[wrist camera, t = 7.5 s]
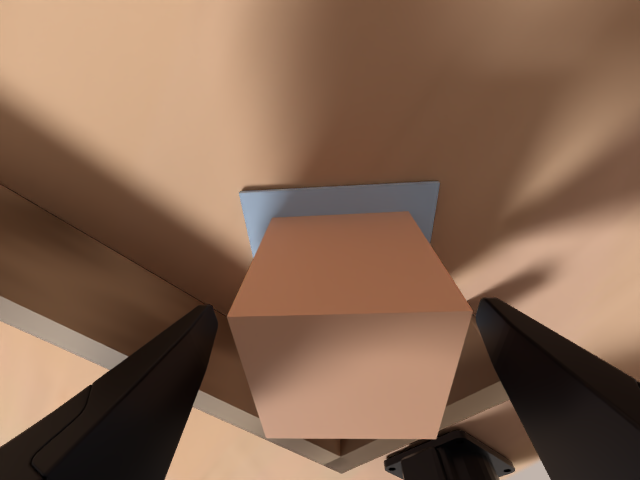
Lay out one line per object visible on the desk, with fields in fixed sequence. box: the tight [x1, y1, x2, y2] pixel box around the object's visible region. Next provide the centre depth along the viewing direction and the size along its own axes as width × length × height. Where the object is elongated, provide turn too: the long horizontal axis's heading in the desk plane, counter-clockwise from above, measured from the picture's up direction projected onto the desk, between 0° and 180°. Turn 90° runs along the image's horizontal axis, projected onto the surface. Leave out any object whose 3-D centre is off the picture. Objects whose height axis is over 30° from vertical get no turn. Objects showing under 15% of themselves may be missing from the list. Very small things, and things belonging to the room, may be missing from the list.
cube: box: [227, 211, 473, 439], centre depth 9 cm, size 5×5×5 cm
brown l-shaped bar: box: [0, 184, 510, 474], centre depth 10 cm, size 20×9×4 cm, turn 49°
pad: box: [239, 181, 440, 258], centre depth 11 cm, size 7×7×1 cm
